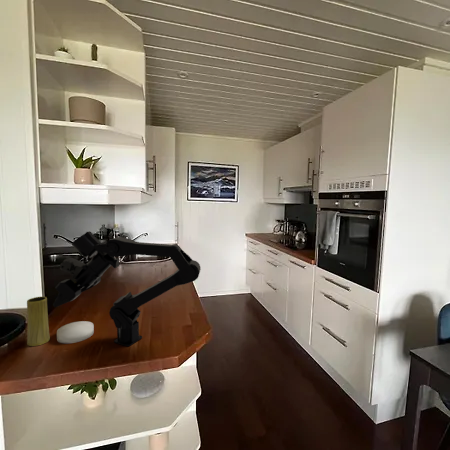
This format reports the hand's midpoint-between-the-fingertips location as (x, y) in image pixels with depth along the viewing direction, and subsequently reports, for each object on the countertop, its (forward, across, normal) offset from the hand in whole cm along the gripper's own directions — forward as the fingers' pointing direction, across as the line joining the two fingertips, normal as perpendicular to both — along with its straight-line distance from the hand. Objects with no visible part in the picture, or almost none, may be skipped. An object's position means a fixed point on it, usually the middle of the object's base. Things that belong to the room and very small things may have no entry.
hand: (62, 300), depth 86 cm
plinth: (+8, -4, +11) cm, 14 cm away
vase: (+16, 0, +4) cm, 16 cm away
